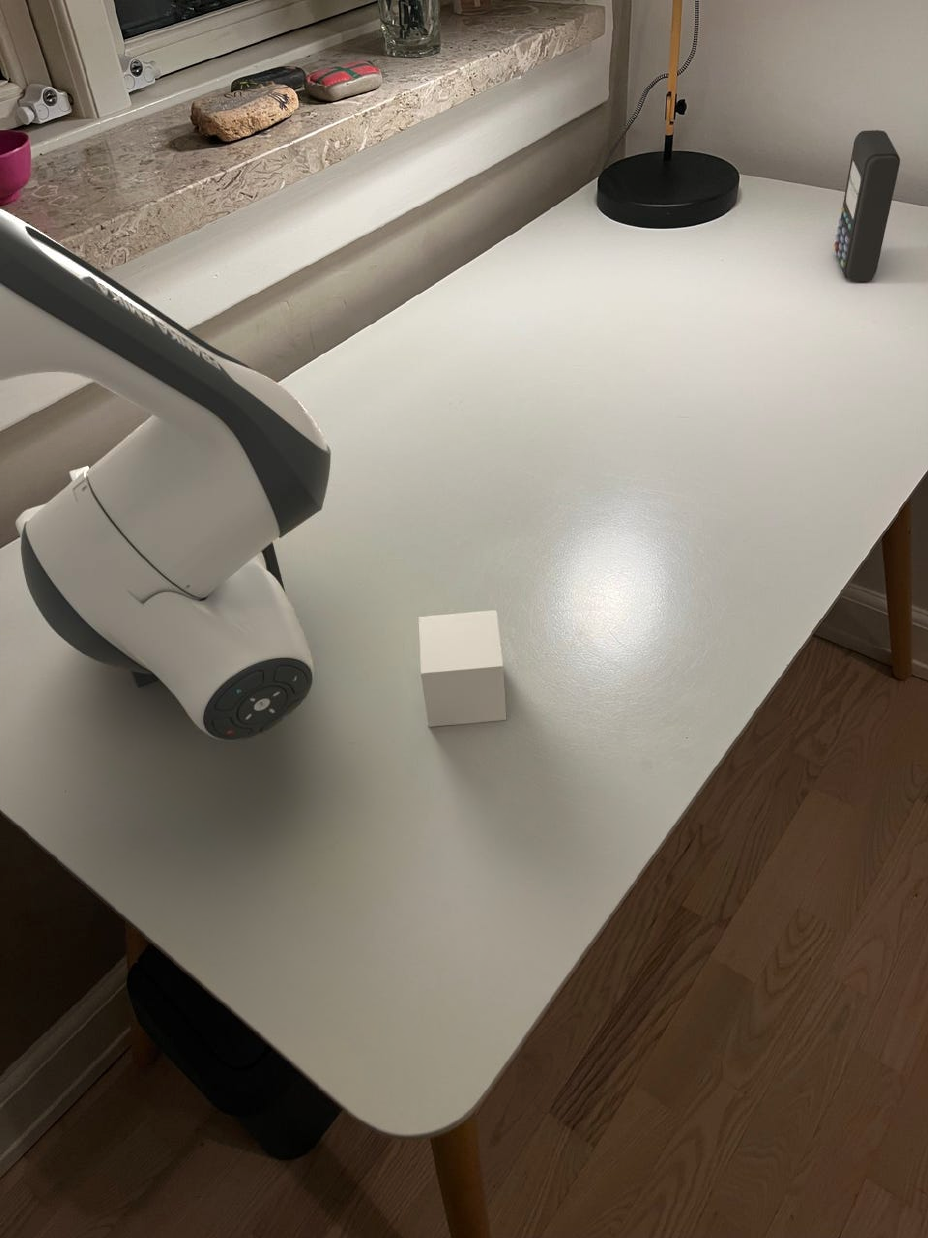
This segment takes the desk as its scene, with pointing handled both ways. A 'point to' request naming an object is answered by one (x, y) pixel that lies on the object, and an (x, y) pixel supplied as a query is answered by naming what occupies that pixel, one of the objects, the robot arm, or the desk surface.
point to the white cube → (462, 668)
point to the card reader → (866, 204)
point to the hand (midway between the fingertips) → (141, 457)
